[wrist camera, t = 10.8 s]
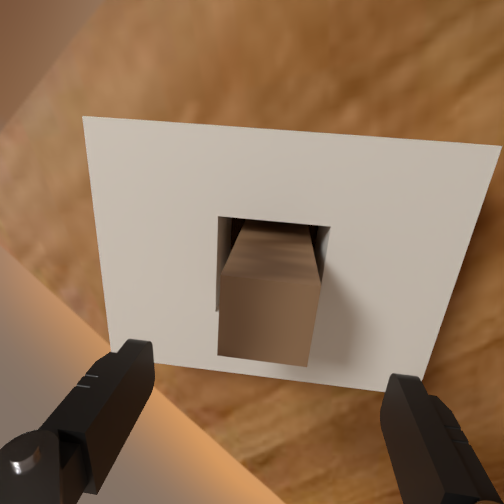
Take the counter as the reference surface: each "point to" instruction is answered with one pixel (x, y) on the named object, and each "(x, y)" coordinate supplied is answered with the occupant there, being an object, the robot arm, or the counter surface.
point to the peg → (269, 294)
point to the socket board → (291, 211)
